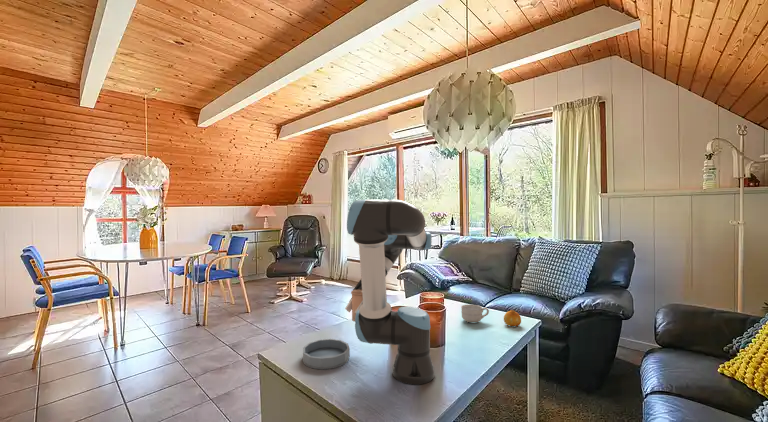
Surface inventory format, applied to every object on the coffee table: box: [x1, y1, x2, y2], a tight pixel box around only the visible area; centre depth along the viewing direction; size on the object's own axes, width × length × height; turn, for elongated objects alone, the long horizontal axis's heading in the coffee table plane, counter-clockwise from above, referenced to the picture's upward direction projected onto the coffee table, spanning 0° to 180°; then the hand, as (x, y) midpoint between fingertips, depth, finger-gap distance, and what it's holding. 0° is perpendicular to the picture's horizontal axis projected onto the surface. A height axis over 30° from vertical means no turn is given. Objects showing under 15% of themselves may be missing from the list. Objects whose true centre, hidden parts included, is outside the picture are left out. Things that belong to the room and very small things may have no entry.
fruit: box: [503, 309, 522, 327], centre depth 176 cm, size 8×8×8 cm
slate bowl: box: [302, 338, 351, 370], centre depth 138 cm, size 18×18×4 cm
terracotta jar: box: [350, 289, 363, 323], centre depth 147 cm, size 7×7×12 cm
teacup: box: [460, 304, 490, 323], centre depth 181 cm, size 14×11×8 cm
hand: (352, 312), depth 145 cm, fingers closed on terracotta jar, 6 cm apart
